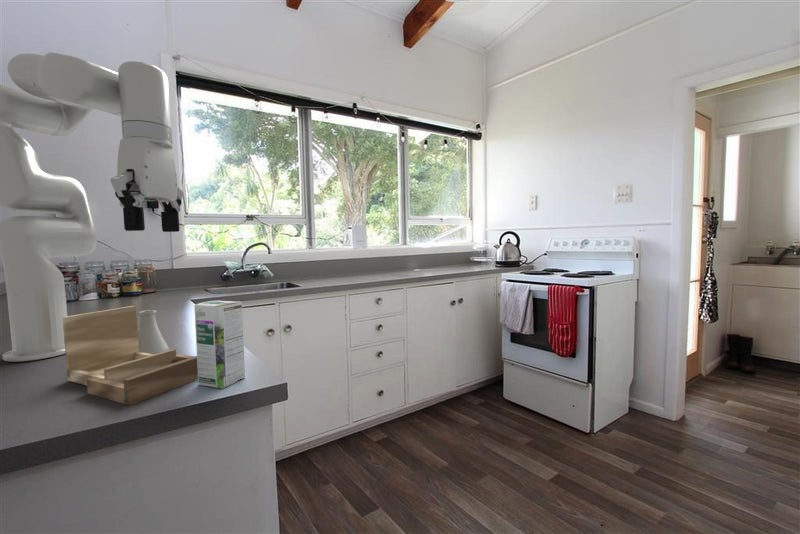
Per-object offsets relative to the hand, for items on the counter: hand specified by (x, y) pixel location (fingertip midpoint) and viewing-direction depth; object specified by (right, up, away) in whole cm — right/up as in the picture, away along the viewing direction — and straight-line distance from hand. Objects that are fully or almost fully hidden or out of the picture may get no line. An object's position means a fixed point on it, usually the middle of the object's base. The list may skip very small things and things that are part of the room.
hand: (154, 231), depth 69 cm
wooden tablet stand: (-7, -27, +2) cm, 28 cm away
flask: (-11, -27, +14) cm, 32 cm away
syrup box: (+14, -28, -2) cm, 31 cm away
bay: (+2, -28, -2) cm, 28 cm away
